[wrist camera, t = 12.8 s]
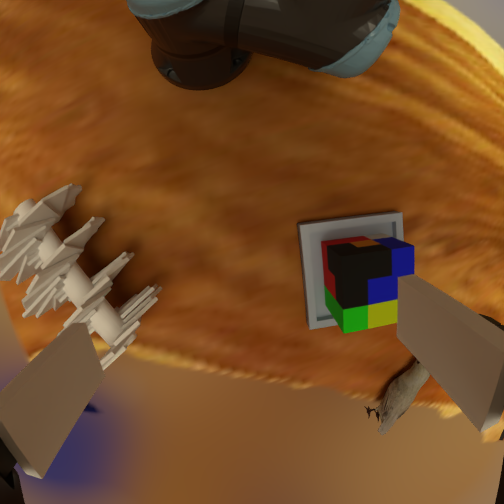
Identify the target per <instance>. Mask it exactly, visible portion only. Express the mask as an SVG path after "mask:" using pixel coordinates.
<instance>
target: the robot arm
mask: <svg viewBox="0 0 504 504" xmlns="http://www.w3.org/2000/svg"><path fill="white" fill-rule="evenodd" d="M126 1H127V4H128V7H129V9H130V11H131V12H132V13H133V14H134V15H135V17H136V18H137V19H138V21H139V22H140V23H141V25H142V26H143V28H144V29H145V30H146V32H147V33H148V34H149V36H150V37H151V39H152V43H151V54H152V59H153V62H154V64H155V66H156V68H157V69H158V71H159V72H160V73H161V74H162V76H163V77H164V78H165V79H166V80H168V81H169V82H170V83H172V84H174V85H176V86H178V87H181V88H184V89H189V90H208V89H213V88H216V87H219V86H222V85H224V84H226V83H228V82H230V81H231V80H233V79H234V78H236V77H237V76H238V75H239V74H240V73H241V72H242V71H243V70H244V69H245V68H246V66H247V65H248V63H249V61H250V59H251V56H252V52H255V53H259V54H263V55H267V56H271V57H274V58H278V59H282V60H285V61H289V62H292V63H296V64H299V65H302V66H305V67H308V69H309V70H311V71H314V72H324V73H327V74H330V75H333V76H336V77H340V78H350V77H355V76H358V75H360V74H362V73H363V72H365V71H366V70H367V69H368V68H369V67H370V66H372V65H373V63H374V62H375V61H376V60H377V59H378V58H379V56H380V55H381V54H382V52H383V51H384V50H385V48H386V47H387V45H388V43H389V42H390V40H391V38H392V31H393V30H394V28H395V27H396V26H397V23H398V20H399V16H400V6H399V3H398V1H397V0H126ZM397 337H398V339H399V340H400V341H401V342H402V343H403V344H404V345H405V346H406V347H407V348H408V350H409V351H410V352H411V353H412V354H413V355H414V356H415V357H416V358H417V360H418V361H419V362H420V363H421V364H422V365H423V366H424V367H425V369H426V370H427V371H428V372H429V373H430V374H431V375H432V376H433V378H434V379H435V380H436V381H437V382H438V383H439V384H440V386H441V387H442V388H443V389H444V390H445V391H446V393H447V394H448V395H449V396H450V397H451V398H452V400H453V401H454V402H455V403H456V404H457V405H458V407H459V408H460V409H461V410H462V411H463V413H464V414H465V415H466V416H467V417H468V419H469V420H470V421H471V422H472V423H473V425H474V426H475V427H476V428H477V429H478V430H479V432H482V431H484V430H486V429H488V428H490V427H491V426H493V425H495V424H497V423H498V422H499V420H500V417H501V415H502V412H503V409H504V325H501V323H499V322H497V321H496V320H494V319H493V318H491V317H488V316H485V315H482V314H477V313H476V312H474V311H473V310H471V309H469V308H468V307H466V306H465V305H463V304H462V303H460V302H458V301H457V300H455V299H454V298H452V297H450V296H449V295H447V294H446V293H444V292H442V291H441V290H439V289H438V288H436V287H434V286H433V285H431V284H429V283H428V282H426V281H424V280H423V279H421V278H419V277H418V276H416V275H414V274H411V275H406V276H401V277H398V316H397ZM104 377H105V374H104V371H103V369H102V366H101V363H100V361H99V358H98V356H97V353H96V350H95V348H94V345H93V342H92V339H91V337H90V334H89V331H88V328H87V325H86V322H82V323H72V324H71V325H70V326H68V327H67V328H66V329H65V330H64V331H63V332H62V333H61V334H60V335H59V336H58V337H56V338H55V339H54V340H53V341H52V342H51V343H50V344H49V345H48V346H47V347H46V348H45V349H44V350H43V351H41V352H40V353H39V354H38V355H37V356H36V357H35V358H34V359H33V360H32V361H31V362H30V363H29V364H28V365H27V366H26V367H25V368H24V369H23V370H22V371H21V372H20V373H19V374H18V375H17V376H16V377H15V378H14V379H13V380H12V381H11V382H10V383H9V384H8V385H7V386H6V387H5V388H4V389H3V390H2V391H1V392H0V504H25V503H24V498H23V494H22V490H21V485H20V479H19V475H18V473H17V471H16V470H15V469H14V468H13V467H14V466H15V464H16V463H18V464H19V465H20V466H21V468H22V469H23V470H24V472H25V473H26V474H28V475H31V476H34V477H37V478H41V479H42V478H43V477H44V475H45V473H46V471H47V470H48V468H49V466H50V465H51V463H52V461H53V459H54V457H55V456H56V454H57V452H58V451H59V449H60V447H61V446H62V444H63V443H64V441H65V439H66V438H67V436H68V434H69V432H70V431H71V429H72V428H73V426H74V425H75V423H76V421H77V420H78V418H79V416H80V415H81V413H82V412H83V410H84V409H85V407H86V405H87V404H88V402H89V401H90V399H91V397H92V396H93V394H94V393H95V391H96V390H97V388H98V387H99V385H100V384H101V382H102V380H103V379H104ZM503 438H504V430H503V432H502V434H501V437H500V440H503ZM495 504H504V458H503V465H502V471H501V477H500V483H499V488H498V493H497V497H496V502H495Z"/></svg>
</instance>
